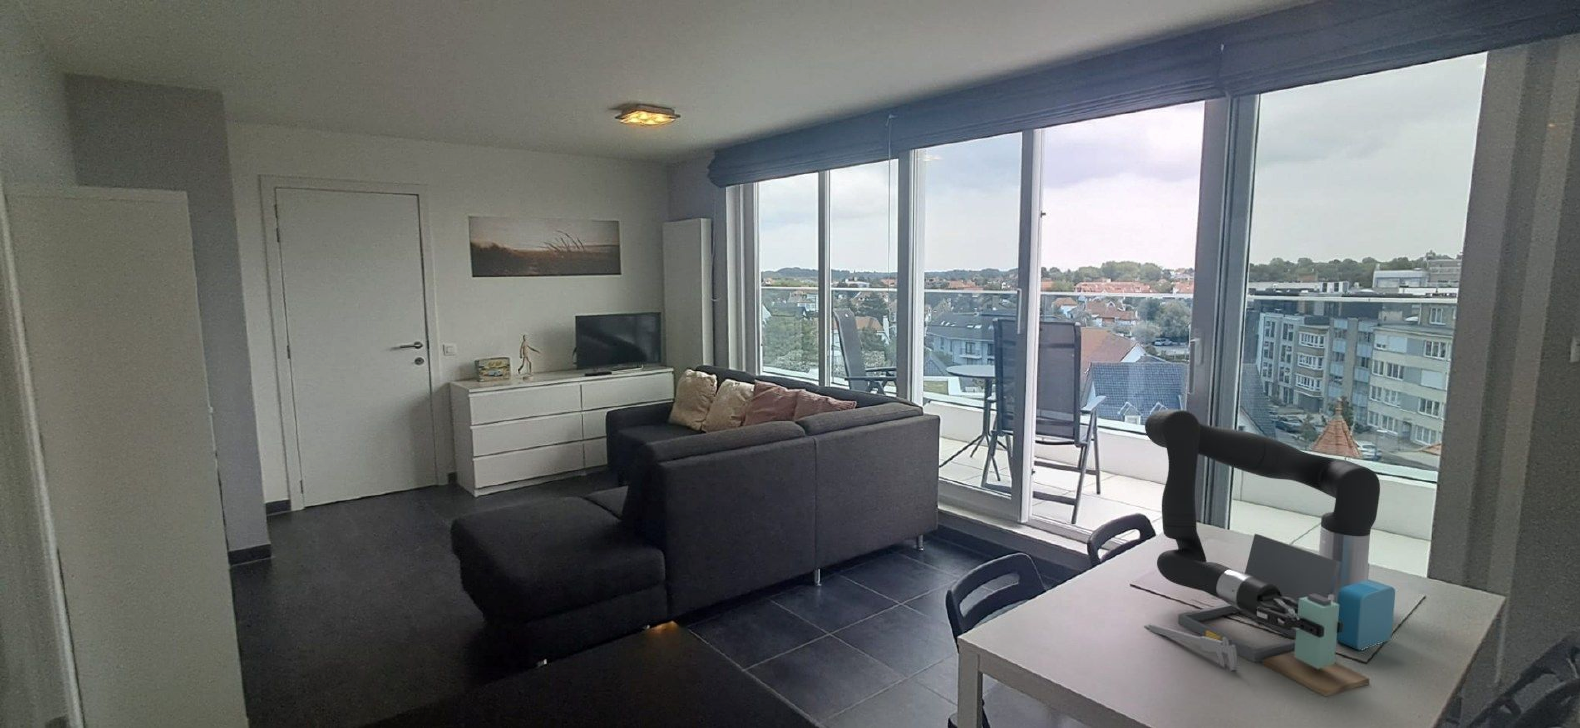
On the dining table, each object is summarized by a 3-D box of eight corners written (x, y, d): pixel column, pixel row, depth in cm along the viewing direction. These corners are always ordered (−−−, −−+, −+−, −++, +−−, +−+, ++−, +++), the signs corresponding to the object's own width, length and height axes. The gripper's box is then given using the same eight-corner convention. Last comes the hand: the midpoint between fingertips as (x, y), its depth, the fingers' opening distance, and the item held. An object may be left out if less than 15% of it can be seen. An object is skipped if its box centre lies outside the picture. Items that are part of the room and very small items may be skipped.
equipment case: (1254, 605, 168) (1259, 532, 166) (1340, 643, 150) (1346, 562, 148) (1176, 623, 160) (1179, 547, 158) (1256, 665, 142) (1262, 580, 140)
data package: (1367, 631, 155) (1371, 577, 154) (1391, 640, 151) (1396, 585, 150) (1333, 642, 151) (1337, 588, 149) (1357, 652, 147) (1362, 596, 145)
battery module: (1310, 653, 142) (1315, 591, 140) (1334, 664, 137) (1339, 600, 136) (1294, 657, 140) (1299, 594, 139) (1317, 668, 136) (1323, 604, 134)
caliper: (1236, 672, 140) (1238, 641, 140) (1232, 673, 140) (1234, 642, 139) (1146, 627, 159) (1148, 600, 158) (1143, 628, 158) (1144, 601, 158)
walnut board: (1304, 653, 147) (1305, 648, 146) (1368, 683, 135) (1369, 678, 135) (1262, 664, 143) (1262, 659, 142) (1324, 696, 131) (1325, 691, 131)
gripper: (1223, 581, 148) (1307, 617, 132) (1273, 571, 153) (1359, 605, 137) (1221, 615, 149) (1304, 656, 133) (1270, 605, 154) (1356, 642, 138)
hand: (1331, 630), depth 135 cm, fingers closed on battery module, 4 cm apart
